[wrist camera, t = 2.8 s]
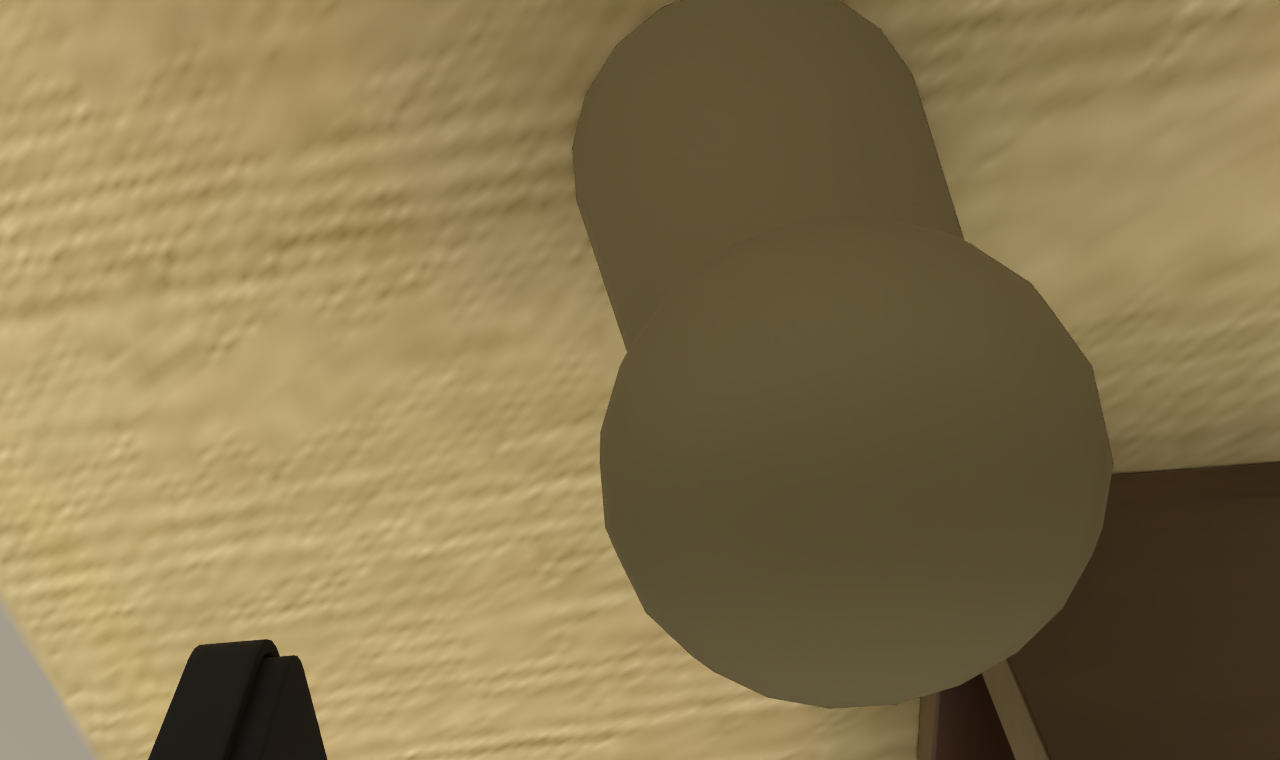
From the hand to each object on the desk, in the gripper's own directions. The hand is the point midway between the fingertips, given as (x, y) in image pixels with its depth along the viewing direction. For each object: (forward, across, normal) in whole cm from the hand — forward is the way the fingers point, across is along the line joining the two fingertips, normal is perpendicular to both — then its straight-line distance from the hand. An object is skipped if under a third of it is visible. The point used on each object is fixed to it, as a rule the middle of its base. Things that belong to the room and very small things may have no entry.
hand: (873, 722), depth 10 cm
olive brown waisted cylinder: (+13, -1, 0) cm, 13 cm away
